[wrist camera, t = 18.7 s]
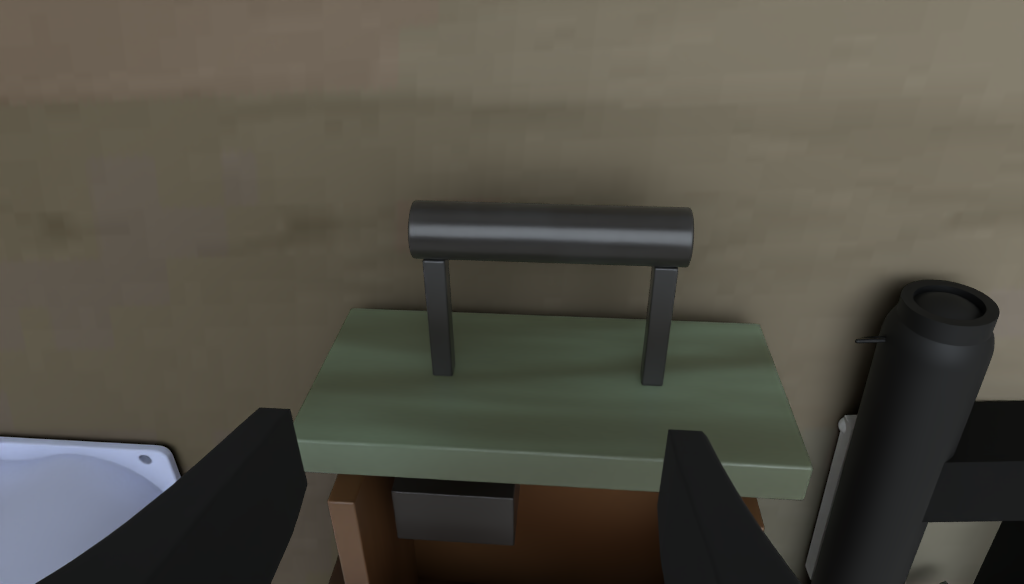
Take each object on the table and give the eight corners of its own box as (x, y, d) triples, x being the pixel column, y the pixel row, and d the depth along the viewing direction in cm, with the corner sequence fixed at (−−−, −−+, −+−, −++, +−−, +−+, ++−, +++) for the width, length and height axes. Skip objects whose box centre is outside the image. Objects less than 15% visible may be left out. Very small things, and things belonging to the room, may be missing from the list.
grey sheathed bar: (418, 462, 26) (397, 538, 23) (413, 416, 24) (390, 491, 22) (679, 476, 25) (692, 558, 22) (687, 430, 24) (701, 510, 21)
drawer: (326, 154, 21) (238, 260, 15) (793, 165, 20) (871, 281, 14) (391, 565, 31) (351, 715, 25) (703, 586, 30) (730, 746, 24)
